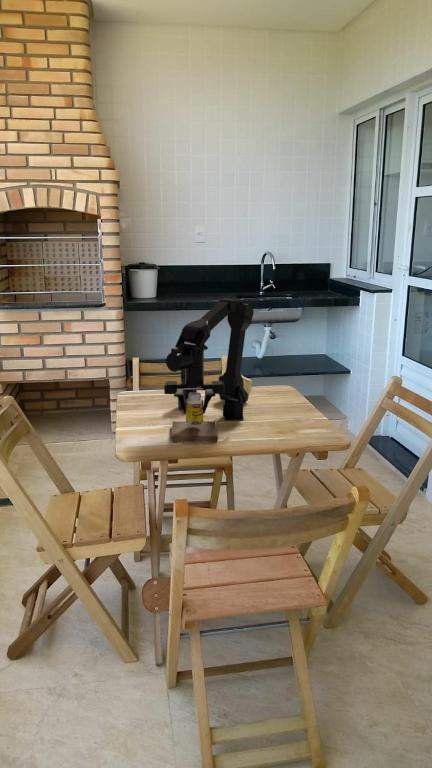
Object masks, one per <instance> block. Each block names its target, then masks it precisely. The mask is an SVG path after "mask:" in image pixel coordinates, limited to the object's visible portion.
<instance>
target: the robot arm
mask: <svg viewBox="0 0 432 768" xmlns="http://www.w3.org/2000/svg"><path fill="white" fill-rule="evenodd" d="M254 315H255V314H254V308H253V307H252V305H251V304H249V303H241V302H239V301H236V300H234V299H231V298H221V299H219V300H218V302H217V304H215V305H213V307H212V308H211V309H210V310H208V312H206V313H205V314H204V315H203V316H202V317H200V318H199V319H197V320H194V321H190V322H188V323H187V324H185V325H184V327H182V329H181V332H180V335H179V337H178V340H177V342H176V344H175V346H174V347H173V348H171V349H170V353H168V355H167V356H166V358H165V365H166V367H167V369H168V370H169V371H171V372H172V373H176V372H179V371H180V380H181V379H185V384H180V383H179V384H178V381H177V380H172V381H171V380H169V381H168V380H167V381H165V382H164V385H163V387H164V389H163V390H164V391H163V394H164V395H173V397H175V398H177V400H178V399H179V401H180V403H181V405H182V408H183V410H182V411H183V413H184V415H186V407H185V400H184V392H183V390H197V391H204V399H203V415H205V413H206V411H207V408H208V405H209V403H210V401H211V399H212V398H213V397H216V395H219V400H222V401H223V400H225V402H223V403H222V416H223V418H224V420H225V421H243V420H244V404H246V403H247V402H248V400H249V397H248V396H250V394H249V395H248V393H247V392H246V391H245V389H244V381H243V378H242V376H243V375H242V374H241V370H242V369H241V368H242V363H243V353H244V345H245V336H246V332H247V330H248V329H249V327H250V326H251V324H252V320H253V317H254ZM225 318H227V323H228V325H229V327H230V335H229V342H228V343H229V344H228V350H227V359H226V366H225V371H224V372H223V374H222V375H219V377H218V380H211V383H209V384H208V383H205V382H204V379H205V377H204V375H205V374H204V373H205V371H204V369H205V367H204V366H205V365H204V363H205V362H204V361H205V360H204V359H205V351H207V350H208V349H209V348H208V346H207V345H206V342H207V341H208V340H209V338H210V337H211V331H213V329H214V328H216V326H218V325H219V324H220V322H222V321H223V320H224V319H225ZM241 375H242V376H241ZM188 387H191V388H188Z"/></svg>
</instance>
